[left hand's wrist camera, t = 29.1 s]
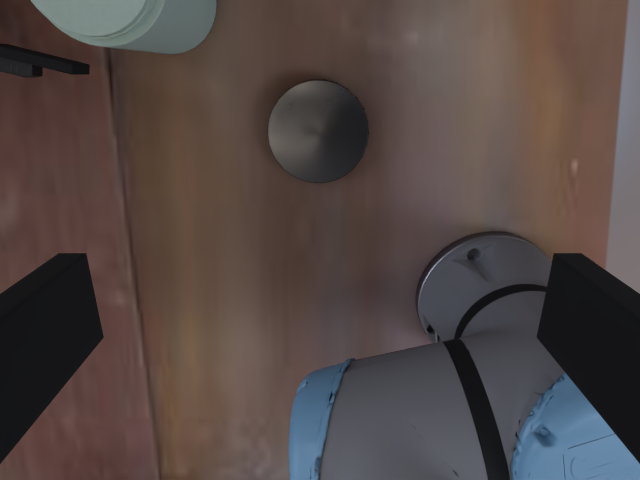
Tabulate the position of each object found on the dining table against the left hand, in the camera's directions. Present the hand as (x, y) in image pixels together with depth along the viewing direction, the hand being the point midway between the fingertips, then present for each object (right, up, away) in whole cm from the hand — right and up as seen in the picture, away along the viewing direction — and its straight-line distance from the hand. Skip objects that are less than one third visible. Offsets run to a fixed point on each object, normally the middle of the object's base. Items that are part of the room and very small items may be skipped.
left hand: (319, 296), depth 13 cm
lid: (0, +12, +29) cm, 31 cm away
